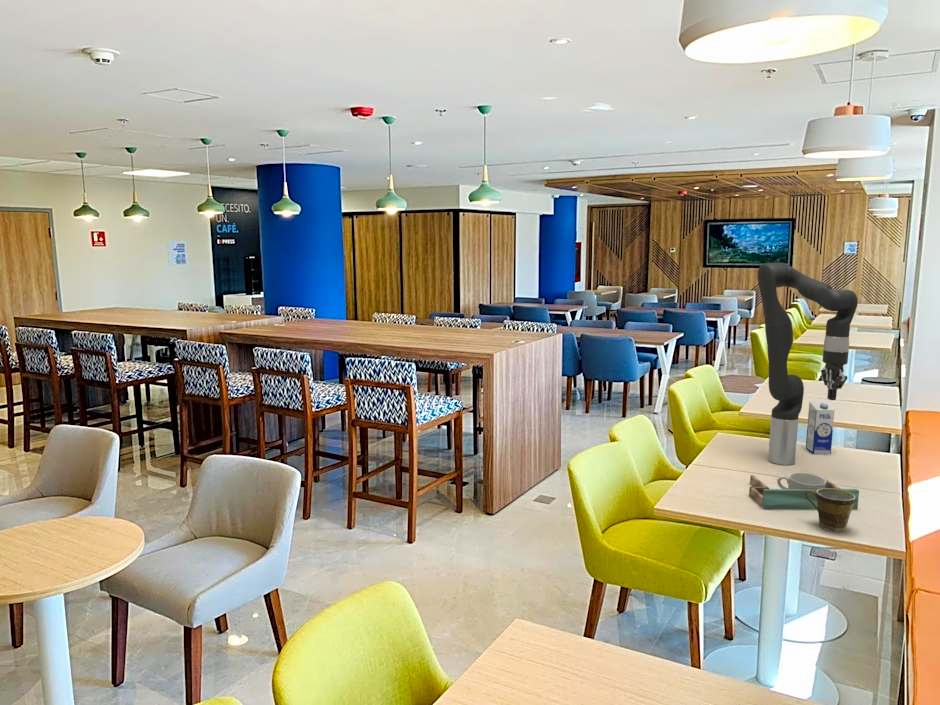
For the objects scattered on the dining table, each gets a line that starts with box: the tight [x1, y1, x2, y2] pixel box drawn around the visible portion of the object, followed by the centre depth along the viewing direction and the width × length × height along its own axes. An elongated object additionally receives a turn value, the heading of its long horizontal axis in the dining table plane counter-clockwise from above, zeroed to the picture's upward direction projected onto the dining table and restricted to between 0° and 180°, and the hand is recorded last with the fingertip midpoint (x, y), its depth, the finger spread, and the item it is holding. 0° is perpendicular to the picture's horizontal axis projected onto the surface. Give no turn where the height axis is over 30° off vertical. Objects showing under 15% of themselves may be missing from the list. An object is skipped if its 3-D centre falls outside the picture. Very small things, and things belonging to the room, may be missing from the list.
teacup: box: [776, 471, 826, 489], centre depth 218 cm, size 14×11×8 cm
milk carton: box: [805, 401, 835, 455], centre depth 269 cm, size 7×7×20 cm
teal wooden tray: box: [748, 474, 860, 510], centre depth 223 cm, size 23×29×6 cm
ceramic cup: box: [805, 488, 855, 532], centre depth 199 cm, size 13×10×10 cm
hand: (831, 399), depth 232 cm, fingers closed
